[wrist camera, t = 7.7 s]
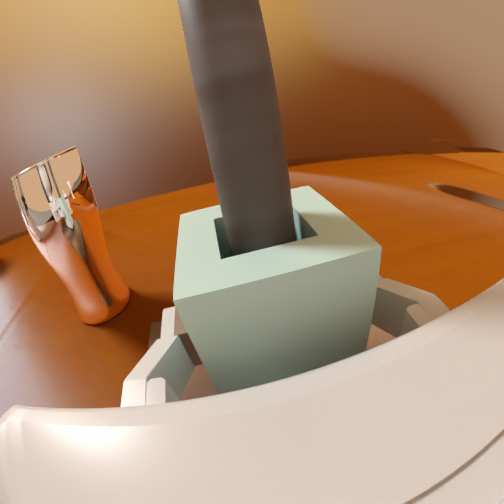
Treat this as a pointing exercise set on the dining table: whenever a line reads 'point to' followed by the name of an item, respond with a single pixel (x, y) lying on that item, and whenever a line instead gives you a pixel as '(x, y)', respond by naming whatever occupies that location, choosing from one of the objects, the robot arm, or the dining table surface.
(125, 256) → the dining table surface
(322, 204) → the marker sleeve
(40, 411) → the robot arm
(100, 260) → the beer glass
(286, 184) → the post stand
